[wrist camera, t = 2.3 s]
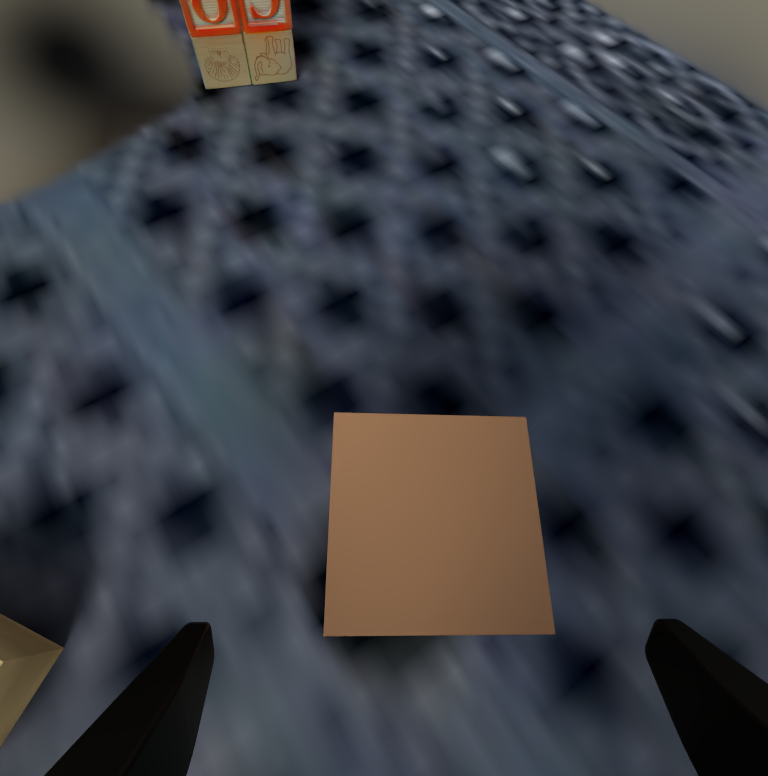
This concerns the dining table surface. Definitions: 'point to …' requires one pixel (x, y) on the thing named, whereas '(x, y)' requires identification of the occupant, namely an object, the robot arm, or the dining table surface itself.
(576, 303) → the dining table surface
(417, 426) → the pillar brick
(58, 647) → the base brick
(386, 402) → the dining table surface
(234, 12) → the stack of blocks
